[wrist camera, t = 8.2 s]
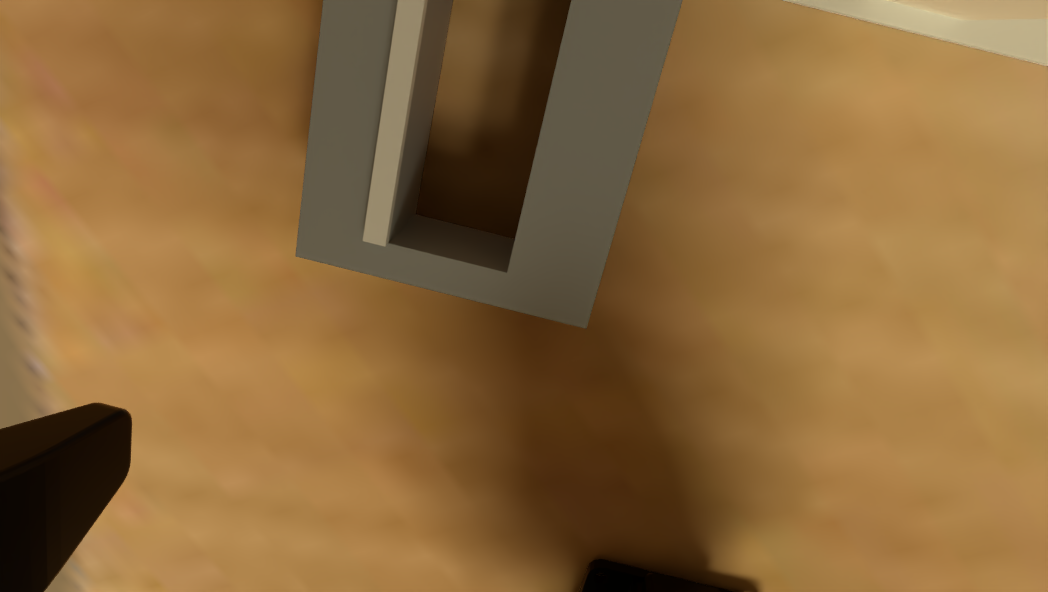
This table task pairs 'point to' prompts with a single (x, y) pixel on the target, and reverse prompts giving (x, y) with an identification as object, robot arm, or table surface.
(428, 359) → the table surface
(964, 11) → the cream rectangular block
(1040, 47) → the mat
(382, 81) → the dispenser
